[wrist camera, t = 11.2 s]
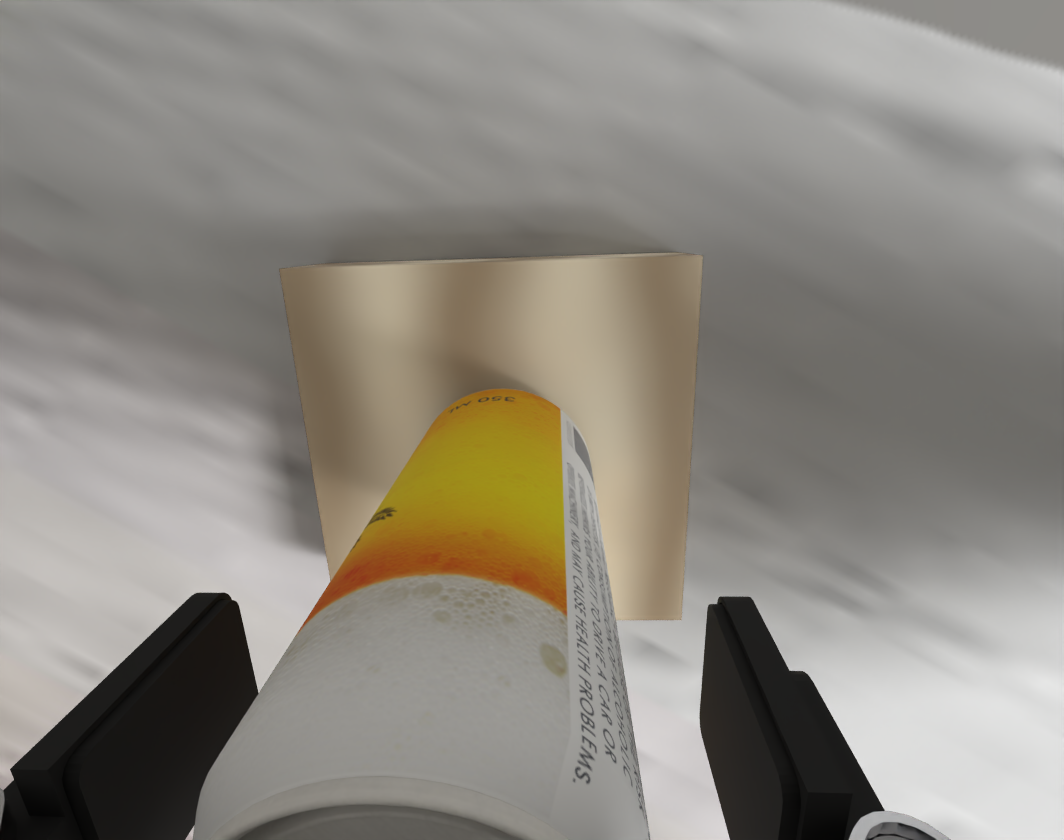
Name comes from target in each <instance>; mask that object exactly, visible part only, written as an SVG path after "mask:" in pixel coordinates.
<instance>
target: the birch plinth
mask: <svg viewBox="0 0 1064 840" xmlns="http://www.w3.org/2000/svg"><path fill="white" fill-rule="evenodd" d="M702 265H703V255H695V254H687V253H679V252H671V253H640V254H608V255H577V256H545V257H513V258H482V259H450V260H419V261H387V262H355V263H325V264H316V265H308V266H299V267H290V268H282V269H279V271H280V277H281V283H282V289H283V295H284V301H285V307H286V313H287V319H288V326H289V332H290V338H291V344H292V350H293V356H294V362H295V368H296V374H297V380H298V386H299V392H300V398H301V405H302V411H303V417H304V423H305V429H306V435H307V441H308V447H309V453H310V459H311V465H312V471H313V478H314V484H315V490H316V496H317V502H318V508H319V514H320V520H321V526H322V532H323V538H324V544H325V550H326V557H327V563H328V569H329V575H330V581H331V580H332V579H333V577H334V576H335V574H336V572H337V571H338V569H339V568H340V566H341V565H342V563H343V562H344V560H345V558H346V557H347V555H348V554H349V552H350V551H351V549H352V548H353V546H354V544H355V543H356V541H357V540H358V538H359V537H360V535H361V534H362V532H363V530H364V529H365V527H366V526H367V524H368V523H369V521H370V520H371V518H372V516H373V515H374V513H375V512H376V510H377V509H378V507H379V506H380V504H381V502H382V501H383V499H384V498H385V496H386V495H387V493H388V492H389V490H390V488H391V487H392V485H393V484H394V482H395V481H396V479H397V478H398V476H399V475H400V473H401V471H402V470H403V468H404V467H405V465H406V464H407V462H408V461H409V459H410V457H411V456H412V454H413V453H414V451H415V450H416V448H417V447H418V445H419V443H420V442H421V440H422V439H423V437H424V436H425V434H426V433H427V431H428V429H429V428H430V426H431V425H432V423H433V422H434V421H435V419H436V418H437V417H438V416H439V415H440V414H441V413H442V412H443V411H444V410H445V409H446V408H447V407H449V406H450V405H451V404H453V403H454V402H456V401H458V400H459V399H461V398H463V397H465V396H468V395H470V394H473V393H476V392H479V391H483V390H489V389H501V388H503V389H516V390H521V391H526V392H529V393H533V394H535V395H538V396H540V397H542V398H544V399H546V400H548V401H550V402H552V403H553V404H555V405H556V406H557V407H559V408H560V409H561V410H562V411H564V412H565V413H566V414H567V415H568V416H569V417H570V418H571V420H572V421H573V422H574V423H575V424H576V426H577V427H578V429H579V430H580V432H581V434H582V436H583V438H584V440H585V442H586V445H587V448H588V451H589V455H590V460H591V467H592V473H593V479H594V486H595V492H596V498H597V505H598V511H599V517H600V524H601V530H602V536H603V543H604V549H605V555H606V562H607V568H608V574H609V581H610V587H611V593H612V600H613V606H614V612H615V619H616V620H681V617H682V600H683V584H684V567H685V550H686V533H687V517H688V500H689V483H690V466H691V450H692V433H693V416H694V399H695V383H696V366H697V349H698V332H699V316H700V299H701V282H702Z"/></svg>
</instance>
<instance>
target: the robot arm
mask: <svg viewBox="0 0 1064 840" xmlns="http://www.w3.org/2000/svg"><path fill="white" fill-rule="evenodd" d="M257 695H258V689H257V685H256V680H255V676H254V671H253V667H252V662H251V658H250V653H249V649H248V645H247V640H246V636H245V631H244V627H243V622H242V618H241V613H240V609H239V605H238V603H237V602H236V601H233V600H232V599H231V597H230V596H229V595H228V594H226V593H196V594H194V595H192V596H191V597H190V598H189V599H188V600H187V601H186V602H185V603H184V604H182V605H181V606H180V607H179V608H178V609H177V610H176V611H175V612H174V613H173V614H172V615H171V616H170V617H169V618H168V619H167V620H166V621H165V622H164V623H163V624H162V625H160V626H159V627H158V628H157V629H156V630H155V631H154V632H153V633H152V634H151V635H150V636H149V637H148V638H147V639H146V640H145V641H144V642H143V643H142V644H141V645H140V646H139V647H137V648H136V649H135V650H134V651H133V652H132V653H131V654H130V655H129V656H128V657H127V658H126V659H125V660H124V661H123V662H122V663H121V664H120V665H119V666H118V667H117V668H115V669H114V670H113V671H112V672H111V673H110V674H109V675H108V676H107V677H106V678H105V679H104V680H103V681H102V682H101V683H100V684H99V685H98V686H97V687H96V688H95V689H94V690H92V691H91V692H90V693H89V694H88V695H87V696H86V697H85V698H84V699H83V700H82V701H81V702H80V703H79V704H78V705H77V706H76V707H75V708H74V709H73V710H72V711H70V712H69V713H68V714H67V715H66V716H65V717H64V718H63V719H62V720H61V721H60V722H59V723H58V724H57V725H56V726H55V727H54V728H53V729H52V730H51V731H50V732H48V733H47V734H46V735H45V736H44V737H43V738H42V739H41V740H40V741H39V742H38V743H37V744H36V745H35V746H34V747H33V748H32V749H31V750H30V751H29V752H28V753H27V754H25V755H24V756H23V757H22V758H21V759H20V760H19V761H18V762H17V763H16V764H15V765H14V766H13V767H12V768H11V769H10V770H11V773H12V775H13V777H14V781H12V782H11V783H10V784H9V785H8V786H7V787H6V788H5V789H4V790H2V789H1V788H0V840H185V839H186V837H187V836H188V834H189V832H190V831H191V829H192V828H193V826H194V825H195V819H196V811H197V806H198V801H199V797H200V792H201V789H202V787H203V784H204V782H205V779H206V777H207V774H208V772H209V771H210V769H211V767H212V766H213V764H214V762H215V761H216V759H217V758H218V756H219V754H220V753H221V751H222V750H223V748H224V747H225V745H226V743H227V742H228V740H229V739H230V737H231V736H232V734H233V733H234V731H235V729H236V728H237V726H238V725H239V723H240V722H241V720H242V719H243V717H244V715H245V714H246V712H247V711H248V709H249V708H250V706H251V705H252V703H253V702H254V700H255V698H256V697H257ZM700 728H701V734H702V738H703V742H704V746H705V749H706V753H707V757H708V760H709V764H710V768H711V771H712V775H713V779H714V782H715V786H716V790H717V793H718V797H719V801H720V804H721V808H722V812H723V815H724V819H725V823H726V826H727V830H728V833H729V837H730V840H950V839H949V838H948V837H947V836H945V835H944V834H942V833H941V832H939V831H938V830H936V829H935V828H933V827H932V826H930V825H929V824H927V823H925V822H922V821H920V820H918V819H916V818H914V817H911V816H909V815H905V814H901V813H896V812H892V811H885V810H884V808H883V807H882V805H881V803H880V801H879V799H878V798H877V796H876V794H875V792H874V790H873V789H872V787H871V785H870V783H869V782H868V780H867V778H866V776H865V774H864V773H863V771H862V769H861V767H860V765H859V764H858V762H857V760H856V758H855V756H854V755H853V753H852V751H851V749H850V747H849V746H848V744H847V742H846V740H845V738H844V737H843V735H842V733H841V731H840V730H839V728H838V726H837V724H836V722H835V721H834V719H833V717H832V715H831V713H830V712H829V710H828V708H827V706H826V704H825V703H824V701H823V699H822V697H821V695H820V694H819V692H818V690H817V688H816V686H815V685H814V683H813V681H812V680H811V678H810V677H809V675H808V674H806V673H805V672H803V671H789V669H788V667H787V665H786V663H785V661H784V659H783V658H782V656H781V654H780V652H779V650H778V648H777V646H776V644H775V642H774V640H773V638H772V636H771V634H770V632H769V630H768V629H767V627H766V625H765V623H764V621H763V619H762V617H761V615H760V613H759V611H758V609H757V607H756V605H755V603H754V601H753V600H752V599H751V598H750V597H719V599H718V602H717V604H710V605H709V606H708V611H707V624H706V637H705V650H704V663H703V677H702V690H701V703H700Z"/></svg>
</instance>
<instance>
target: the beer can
mask: <svg viewBox="0 0 1064 840" xmlns="http://www.w3.org/2000/svg"><path fill="white" fill-rule="evenodd" d="M193 840H650V834H649V828H648V821H647V815H646V809H645V802H644V796H643V790H642V783H641V777H640V771H639V764H638V758H637V752H636V745H635V739H634V733H633V726H632V720H631V714H630V707H629V701H628V695H627V688H626V682H625V676H624V669H623V663H622V657H621V650H620V644H619V638H618V631H617V625H616V619H615V612H614V606H613V600H612V593H611V587H610V581H609V574H608V568H607V562H606V555H605V549H604V543H603V536H602V530H601V524H600V517H599V511H598V505H597V498H596V492H595V486H594V479H593V473H592V467H591V460H590V455H589V451H588V448H587V445H586V442H585V440H584V438H583V436H582V434H581V432H580V430H579V429H578V427H577V426H576V424H575V423H574V422H573V421H572V420H571V418H570V417H569V416H568V415H567V414H566V413H565V412H564V411H562V410H561V409H560V408H559V407H557V406H556V405H555V404H553V403H552V402H550V401H548V400H546V399H544V398H542V397H540V396H538V395H535V394H533V393H529V392H526V391H521V390H516V389H503V388H501V389H489V390H483V391H479V392H476V393H473V394H470V395H468V396H465V397H463V398H461V399H459V400H458V401H456V402H454V403H453V404H451V405H450V406H449V407H447V408H446V409H445V410H444V411H443V412H442V413H441V414H440V415H439V416H438V417H437V418H436V419H435V421H434V422H433V423H432V425H431V426H430V428H429V429H428V431H427V433H426V434H425V436H424V437H423V439H422V440H421V442H420V443H419V445H418V447H417V448H416V450H415V451H414V453H413V454H412V456H411V457H410V459H409V461H408V462H407V464H406V465H405V467H404V468H403V470H402V471H401V473H400V475H399V476H398V478H397V479H396V481H395V482H394V484H393V485H392V487H391V488H390V490H389V492H388V493H387V495H386V496H385V498H384V499H383V501H382V502H381V504H380V506H379V507H378V509H377V510H376V512H375V513H374V515H373V516H372V518H371V520H370V521H369V523H368V524H367V526H366V527H365V529H364V530H363V532H362V534H361V535H360V537H359V538H358V540H357V541H356V543H355V544H354V546H353V548H352V549H351V551H350V552H349V554H348V555H347V557H346V558H345V560H344V562H343V563H342V565H341V566H340V568H339V569H338V571H337V572H336V574H335V576H334V577H333V579H332V580H331V582H330V583H329V585H328V586H327V588H326V590H325V591H324V593H323V594H322V596H321V597H320V599H319V600H318V602H317V604H316V605H315V607H314V608H313V610H312V611H311V613H310V614H309V616H308V618H307V619H306V621H305V622H304V624H303V625H302V627H301V628H300V630H299V632H298V633H297V635H296V636H295V638H294V639H293V641H292V642H291V644H290V646H289V647H288V649H287V650H286V652H285V653H284V655H283V656H282V658H281V660H280V661H279V663H278V664H277V666H276V667H275V669H274V670H273V672H272V674H271V675H270V677H269V678H268V680H267V681H266V683H265V684H264V686H263V688H262V689H261V691H260V692H259V694H258V695H257V697H256V698H255V700H254V702H253V703H252V705H251V706H250V708H249V709H248V711H247V712H246V714H245V715H244V717H243V719H242V720H241V722H240V723H239V725H238V726H237V728H236V729H235V731H234V733H233V734H232V736H231V737H230V739H229V740H228V742H227V743H226V745H225V747H224V748H223V750H222V751H221V753H220V754H219V756H218V758H217V759H216V761H215V762H214V764H213V766H212V767H211V769H210V771H209V772H208V774H207V777H206V779H205V782H204V784H203V787H202V789H201V792H200V797H199V801H198V806H197V811H196V819H195V826H194V834H193Z"/></svg>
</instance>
